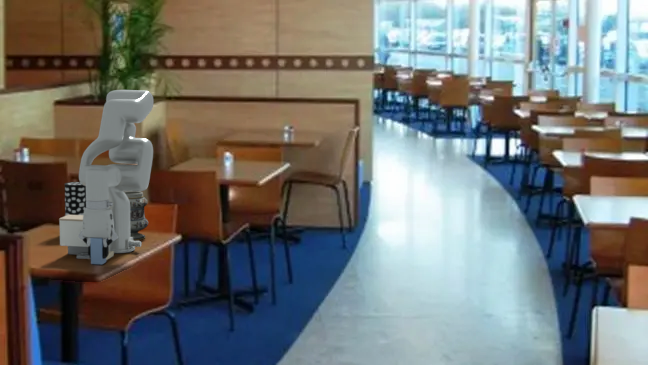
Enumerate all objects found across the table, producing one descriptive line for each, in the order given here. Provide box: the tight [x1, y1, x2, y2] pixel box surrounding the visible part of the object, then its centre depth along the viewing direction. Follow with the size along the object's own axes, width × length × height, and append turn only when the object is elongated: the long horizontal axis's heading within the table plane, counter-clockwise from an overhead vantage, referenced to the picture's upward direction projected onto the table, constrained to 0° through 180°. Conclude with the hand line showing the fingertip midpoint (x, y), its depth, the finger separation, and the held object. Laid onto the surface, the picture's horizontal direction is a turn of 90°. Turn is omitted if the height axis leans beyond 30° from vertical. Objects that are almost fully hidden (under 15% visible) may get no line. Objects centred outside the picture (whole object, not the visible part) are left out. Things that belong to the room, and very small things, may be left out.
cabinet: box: [58, 215, 88, 255], centre depth 346 cm, size 12×8×14 cm
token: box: [76, 253, 91, 260], centre depth 346 cm, size 5×5×2 cm
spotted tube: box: [64, 181, 86, 216], centre depth 385 cm, size 8×8×20 cm
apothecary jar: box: [124, 191, 149, 241], centre depth 379 cm, size 12×12×18 cm
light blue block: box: [90, 238, 115, 265], centre depth 340 cm, size 4×14×9 cm, turn 172°
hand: (98, 256), depth 336 cm, fingers closed on light blue block, 4 cm apart
